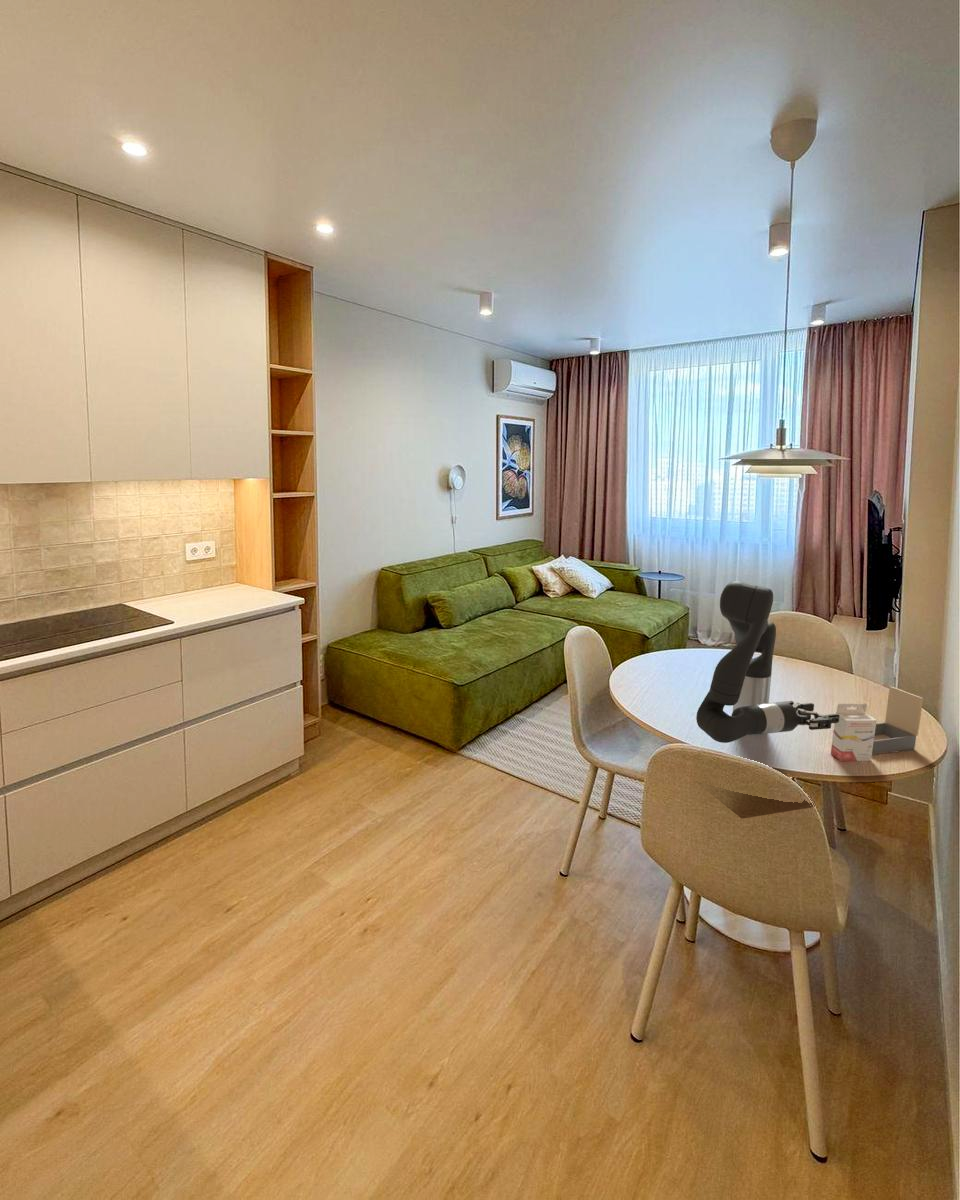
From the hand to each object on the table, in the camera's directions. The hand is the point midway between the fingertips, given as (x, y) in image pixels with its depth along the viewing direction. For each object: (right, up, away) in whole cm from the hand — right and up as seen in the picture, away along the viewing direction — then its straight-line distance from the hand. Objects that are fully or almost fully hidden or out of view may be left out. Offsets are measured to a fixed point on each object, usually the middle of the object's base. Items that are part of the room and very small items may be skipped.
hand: (825, 712), depth 164 cm
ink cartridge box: (+10, -13, +6) cm, 18 cm away
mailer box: (+22, -12, +13) cm, 28 cm away
